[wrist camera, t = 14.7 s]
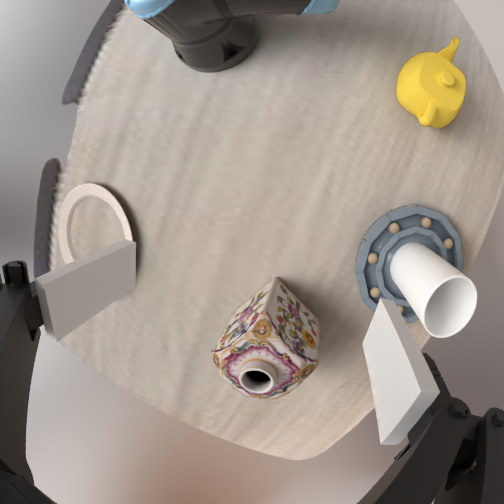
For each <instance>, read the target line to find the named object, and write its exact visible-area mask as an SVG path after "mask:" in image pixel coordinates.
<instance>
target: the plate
mask: <svg viewBox="0 0 504 504" xmlns="http://www.w3.org/2000/svg"><path fill="white" fill-rule="evenodd" d="M88 197H99V198H101V199H103V200H105V201H106V202H108V203H109V204H110V205H111V206H112V207H113V209H114V210H115V211H116V213H117V215H118V217H119V219H120V221H121V223H122V226H123V229H124V233H125V238H126V240H129V241H133V237H132V231H131V228H130V224H129V221H128V219H127V216H126V214H125V212H124V210H123V208H122V206H121V205H120V203H119V202H118V200H117V199H116V198H115V197H114V196H113V195H112V194H111V193H110V192H109V191H108V190H107V189H105V188H104V187H102V186H100V185H97V184H93V183H85V184H81V185H79V186H77V187H75V188H74V189H73V190H72V191H71V192H70V193H69V194H68V195H67V197H66V198H65V200H64V202H63V204H62V207H61V210H60V214H59V219H58V239H59V245H60V249H61V253H62V256H63V258H64V261H65V263H66V264H68V263H71V262H73V261H75V260H77V258H76V256H75V254H74V252H73V249H72V245H71V240H70V221H71V217H72V214H73V212H74V209H75V208H76V206H77V205H78V204H79V203H80V202H81V201H82V200H83V199H85V198H88Z"/></svg>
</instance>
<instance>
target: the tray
mask: <svg viewBox="0 0 504 504" xmlns="http://www.w3.org/2000/svg"><path fill="white" fill-rule="evenodd" d="M424 217H428V218H430V220H431V226H430V227H429V228H424V227H423V226H422V224H421V220H422V219H423V218H424ZM393 222H395V223H397V224H398V225H399V231H398V233H396V234H392V233H391V232H390V231H389V225H390V224H391V223H393ZM447 238H449V239H451V240H452V242H453V246H452V248H450V249H446V247H445V245H444V240H445V239H447ZM412 242H417V243H420V244H423V245H424V246H426V247H427V248H429V249H430V250H431V251H433V252H434V253H436V254H437V255H438V256H440V257H441V258H443V259H444V260H445V261H447V262H448V263H449V264H451V265H452V266H453V267H455V268H456V269H457V270H459V271H460V272H461V270H462V267H463V266H462V265H463V259H462V249H461V241H460V237H459V235H458V233H457V232H456V230H455V229H454V228H453V226H452V225H451V223H450V222H449V221H448V219H447V218H446V217H445V216H444V214H442V213H439V212H436V211H433V210H430V209H427V208H424V207H420V206H417V205H410V206H404V207H399V208H396V209H394V210H391V211H389V212H387V213H386V214H384V215H383V216H381V217H380V218H379V219H377V220H376V221H375V222H374V223H373V224H372V226H371V227H370V228H369V229H368V231H367V232H366V234H365V236H364V237H363V239H362V241H361V244H360V246H359V249H358V253H357V258H356V266H355V273H356V278H357V282H358V285H359V289H360V294H361V298H362V300H363V302H364V303H365V304H366V305H367V306H368V307H369V308H370V309H371V310H372V311H373V312H375V311H376V308H377V305H378V303H379V300H380V298H383V299H388V300H393V301H394V302H395V304H396V305H402V306H403V312H402V316H403V318H404V320H405V322H406V324H407V323H408V324H409V323H412V322H415V321H417V320H420V319H419V318H418V316H417V315H416V313H415V312H414V310H413V309H412V307H411V306H410V304H409V303H408V301H407V300H406V298H405V297H404V295H403V294H402V292H401V291H400V289H399V288H398V286H397V285H396V284H395V282H394V281H393V279H392V277H391V273H390V265H391V260H392V258H393V256H394V254H395V253H396V251H397V250H398V249H399V248H400V247H402V246H403V245H405V244H407V243H412ZM369 253H375V254H376V255H377V257H378V260H377V262H376V263H374V264H370V263H369V262H368V261H367V257H368V254H369ZM373 287H378V288H379V290H380V295H379V296H378V297H376V298H374V297H372V296H371V295H370V290H371V289H372V288H373Z"/></svg>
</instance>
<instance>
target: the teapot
mask: <svg viewBox="0 0 504 504" xmlns="http://www.w3.org/2000/svg"><path fill="white" fill-rule="evenodd" d="M458 46H459V39H458V38H457V37H454V38H453V39H452V41H451V43H450V44H449V45H448V46H447V47H446V48H444V49H442V50H441V51H439V52H438V53H434V52H423V53H419V54H417V55H415V56H413V57H412V58H411V59H409V60H408V61H407V62H406V63H405V65H404V66H403V67H402V69H401V71H400V73H399V76H398V80H397V88H396V94H397V99H398V101H399V103H400V104H401V105H402V106H403V107H404V108H405V109H406V110H407V111H409V112H410V113H411V114H413V115H414V116H415V117H417V118H418V120H419V122H420V123H421V124H422V125H423V126H429V125H430V126H432V127H434V128H442V127H444V126H446V125H448V124H449V123H450V122H451V121H452V120H453V119H454V118H455V116H456V115H457V113H458V112H459V110H460V108H461V106H462V103H463V100H464V97H465V91H466V79H465V76H464V74H463V73H462V72H461V71H460V70H459V69H458V68H457V67H456V66H454V65H453V64H452V60H453V57H454V55H455V52H456V50H457V48H458Z"/></svg>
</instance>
